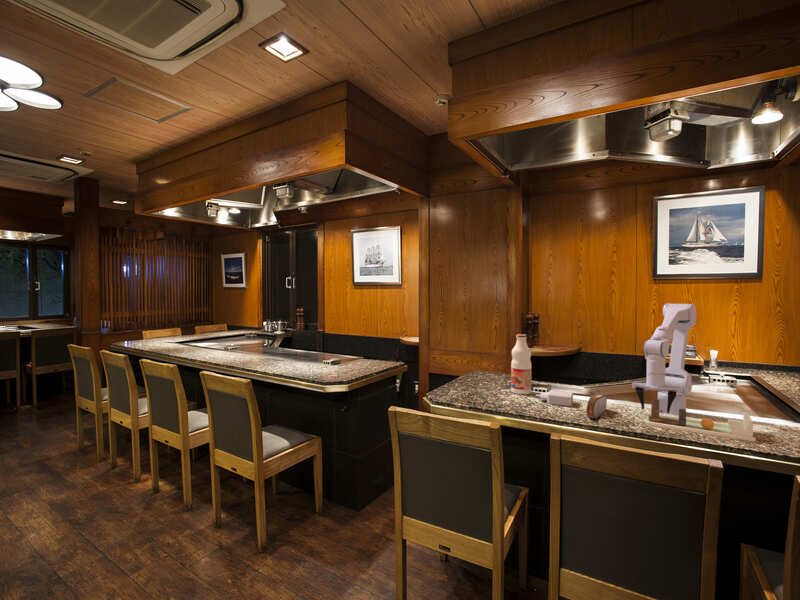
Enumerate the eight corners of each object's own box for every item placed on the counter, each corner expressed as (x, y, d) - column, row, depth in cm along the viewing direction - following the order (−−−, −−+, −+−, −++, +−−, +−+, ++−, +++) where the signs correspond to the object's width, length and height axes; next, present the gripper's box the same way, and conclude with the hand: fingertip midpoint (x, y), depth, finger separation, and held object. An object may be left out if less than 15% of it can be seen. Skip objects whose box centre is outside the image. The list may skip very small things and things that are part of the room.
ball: (701, 429, 136) (701, 418, 136) (700, 426, 139) (700, 416, 139) (714, 431, 134) (714, 420, 134) (713, 428, 137) (713, 418, 137)
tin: (600, 411, 162) (600, 391, 162) (608, 413, 159) (608, 392, 159) (585, 419, 151) (585, 397, 151) (594, 421, 149) (594, 399, 149)
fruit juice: (533, 395, 188) (534, 335, 187) (513, 394, 188) (513, 335, 188) (528, 390, 197) (528, 333, 197) (508, 389, 198) (509, 333, 197)
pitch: (644, 428, 141) (644, 407, 141) (646, 419, 152) (646, 399, 152) (755, 446, 125) (755, 422, 125) (748, 434, 135) (748, 412, 135)
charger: (537, 398, 183) (573, 402, 176) (533, 402, 175) (570, 407, 168) (537, 387, 183) (573, 391, 176) (533, 392, 175) (570, 396, 168)
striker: (648, 421, 144) (648, 400, 144) (649, 417, 148) (649, 397, 148) (686, 426, 138) (686, 405, 138) (685, 423, 142) (685, 402, 141)
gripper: (631, 372, 145) (631, 409, 145) (680, 377, 137) (680, 416, 137) (633, 369, 151) (632, 405, 151) (680, 373, 143) (679, 411, 143)
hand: (655, 410), depth 145 cm, fingers open, 7 cm apart
